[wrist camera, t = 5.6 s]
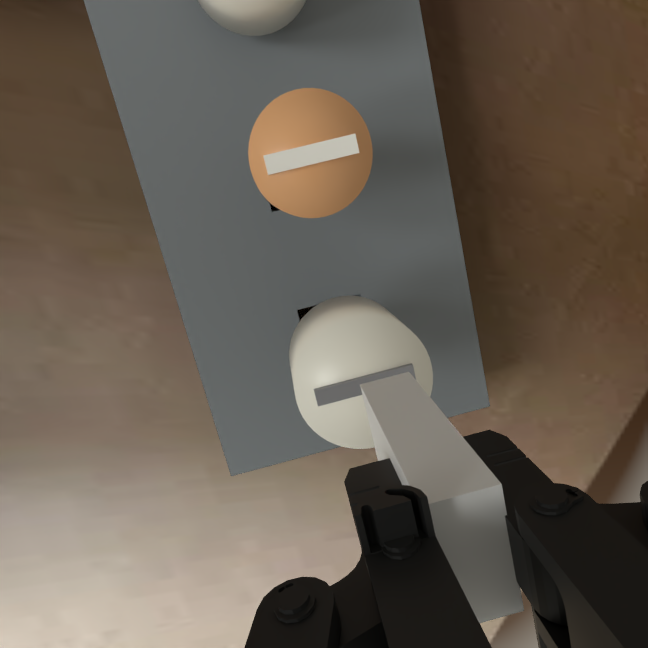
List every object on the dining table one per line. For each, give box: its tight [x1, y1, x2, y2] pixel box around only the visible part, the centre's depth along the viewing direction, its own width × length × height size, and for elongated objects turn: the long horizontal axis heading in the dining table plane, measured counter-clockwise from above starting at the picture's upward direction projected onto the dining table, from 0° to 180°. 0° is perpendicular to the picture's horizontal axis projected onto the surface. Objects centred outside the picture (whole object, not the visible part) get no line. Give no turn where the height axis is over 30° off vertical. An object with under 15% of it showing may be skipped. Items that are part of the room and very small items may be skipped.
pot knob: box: [248, 88, 373, 218], centre depth 21 cm, size 4×4×8 cm
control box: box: [84, 0, 490, 476], centre depth 27 cm, size 14×28×4 cm, turn 13°
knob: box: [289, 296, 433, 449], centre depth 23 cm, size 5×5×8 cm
